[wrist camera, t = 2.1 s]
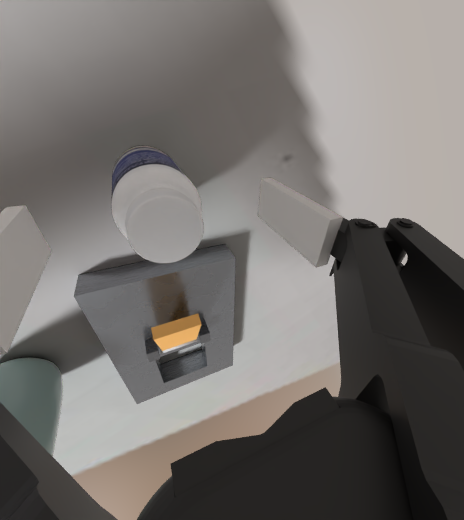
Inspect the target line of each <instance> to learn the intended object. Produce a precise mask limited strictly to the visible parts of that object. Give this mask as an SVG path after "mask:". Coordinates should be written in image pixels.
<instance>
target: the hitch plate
mask: <svg viewBox="0 0 464 520" xmlns="http://www.w3.org/2000/svg"><path fill="white" fill-rule="evenodd" d="M235 262H236V258H235V256H234V255H233V254H232V252H231V251H230V250H229V248H228V247H227V245H226V244H222V245H218V246H213V247H208V248H204V249H199V250H194V251H193V252H192V253H191V254H190V255H189V256H187V257H185V258H184V259H181V260H179V261H176V262H172V263H156V262H152V261H149V260H147V261H142V262H138V263H133V264H128V265H124V266H119V267H114V268H110V269H105V270H100V271H95V272H91V273H86V274H81V275H78V280H77V284H76V289H75V294H74V297H75V299H76V301H77V302H78V304H79V306H80V308H81V309H82V311H83V313H84V314H85V316H86V318H87V319H88V321H89V323H90V325H91V326H92V328H93V330H94V331H95V333H96V335H97V337H98V338H99V340H100V342H101V343H102V345H103V347H104V349H105V350H106V352H107V354H108V355H109V357H110V359H111V360H112V362H113V364H114V366H115V367H116V369H117V371H118V372H119V374H120V376H121V378H122V379H123V381H124V383H125V384H126V386H127V388H128V389H129V391H130V393H131V395H132V396H133V398H134V400H135V401H136V403H137V404H139V403H141V402H143V401H146V400H148V399H151V398H153V397H156V396H158V395H161V394H163V393H166V392H168V391H171V390H173V389H175V388H178V387H180V386H183V385H185V384H188V383H190V382H193V381H195V380H198V379H200V378H203V377H205V376H207V375H210V374H212V373H215V372H217V371H220V370H222V369H225V368H227V367H230V366H232V365H233V337H234V299H235ZM194 314H199V318H200V321H201V327H200V330H199V333H198V341H197V342H194V343H191V344H188V345H185V346H182V347H180V348H177V349H174V350H171V351H168V352H165V353H162V354H161V351H160V347H159V346H158V345H157V344H156V342H155V341H154V340H153V335H152V330H151V328H152V327H155V326H159V325H162V324H165V323H168V322H172V321H175V320H178V319H181V318H185V317H188V316H191V315H194ZM198 343H201V348H202V350H199V351H196V352H194V353H191V354H188V355H185V356H183V357H180V358H177V359H174V360H172V361H169V362H166V363H163V364H160V361H159V359H160V357H162V356H164V355H167V354H170V353H173V352H176V351H179V350H181V349H184V348H187V347H190V346H193V345H196V344H198Z"/></svg>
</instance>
